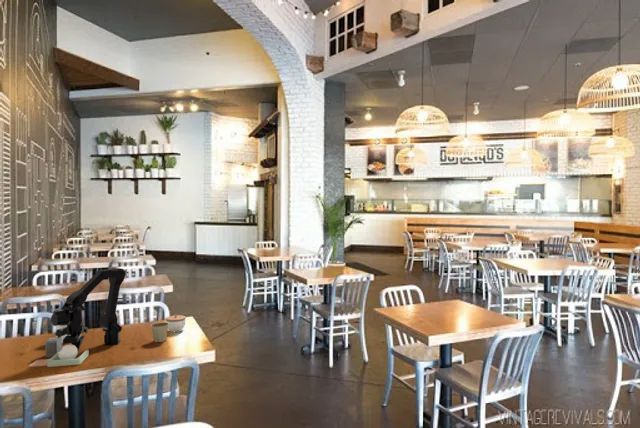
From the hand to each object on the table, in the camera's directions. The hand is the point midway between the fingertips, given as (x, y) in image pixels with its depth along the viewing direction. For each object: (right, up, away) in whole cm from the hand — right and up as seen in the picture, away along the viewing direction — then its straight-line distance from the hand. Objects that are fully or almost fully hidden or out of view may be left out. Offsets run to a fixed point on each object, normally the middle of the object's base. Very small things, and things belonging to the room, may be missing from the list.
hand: (76, 352), depth 217 cm
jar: (-18, -1, +21) cm, 28 cm away
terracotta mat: (-9, -1, -13) cm, 15 cm away
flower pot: (+33, 0, +20) cm, 39 cm away
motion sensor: (+2, -1, -10) cm, 10 cm away
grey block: (-10, -1, -2) cm, 10 cm away
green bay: (+2, -1, -9) cm, 10 cm away
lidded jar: (+36, 0, +39) cm, 53 cm away
